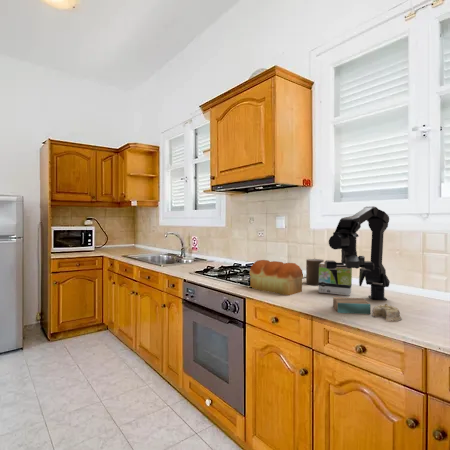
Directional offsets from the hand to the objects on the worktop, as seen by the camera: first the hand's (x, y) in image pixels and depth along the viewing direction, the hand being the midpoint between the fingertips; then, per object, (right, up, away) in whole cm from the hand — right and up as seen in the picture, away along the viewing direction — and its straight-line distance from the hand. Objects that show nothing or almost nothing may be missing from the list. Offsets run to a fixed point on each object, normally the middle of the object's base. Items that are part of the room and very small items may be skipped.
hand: (348, 285), depth 133 cm
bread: (-25, -9, +34) cm, 43 cm away
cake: (+9, -10, -14) cm, 19 cm away
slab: (0, -7, +1) cm, 7 cm away
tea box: (+4, -9, +28) cm, 29 cm away
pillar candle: (0, -9, +51) cm, 51 cm away
